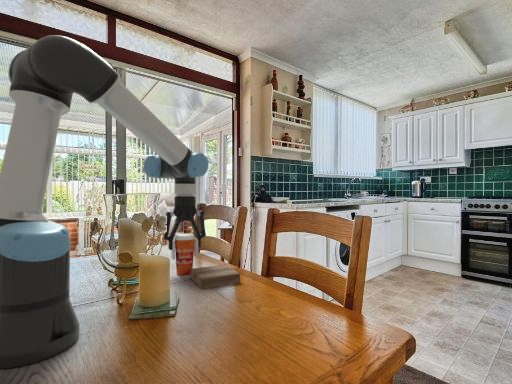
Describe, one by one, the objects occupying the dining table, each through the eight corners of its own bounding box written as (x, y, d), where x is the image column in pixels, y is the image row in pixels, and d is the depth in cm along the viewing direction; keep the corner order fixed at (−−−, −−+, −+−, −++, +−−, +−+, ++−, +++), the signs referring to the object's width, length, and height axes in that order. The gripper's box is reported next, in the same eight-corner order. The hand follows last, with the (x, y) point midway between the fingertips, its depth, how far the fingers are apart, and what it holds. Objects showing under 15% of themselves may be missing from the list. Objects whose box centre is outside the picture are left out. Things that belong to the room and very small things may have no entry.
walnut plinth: (240, 282, 94) (240, 273, 94) (201, 288, 88) (201, 279, 88) (225, 272, 105) (225, 264, 105) (190, 277, 99) (190, 268, 99)
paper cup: (173, 276, 100) (173, 236, 100) (173, 270, 107) (174, 233, 107) (196, 275, 102) (196, 236, 102) (195, 269, 109) (195, 233, 109)
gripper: (208, 195, 113) (208, 252, 113) (154, 195, 103) (153, 258, 103) (215, 195, 106) (214, 256, 106) (157, 195, 96) (157, 262, 97)
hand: (184, 257), depth 105 cm, fingers closed on paper cup, 8 cm apart
